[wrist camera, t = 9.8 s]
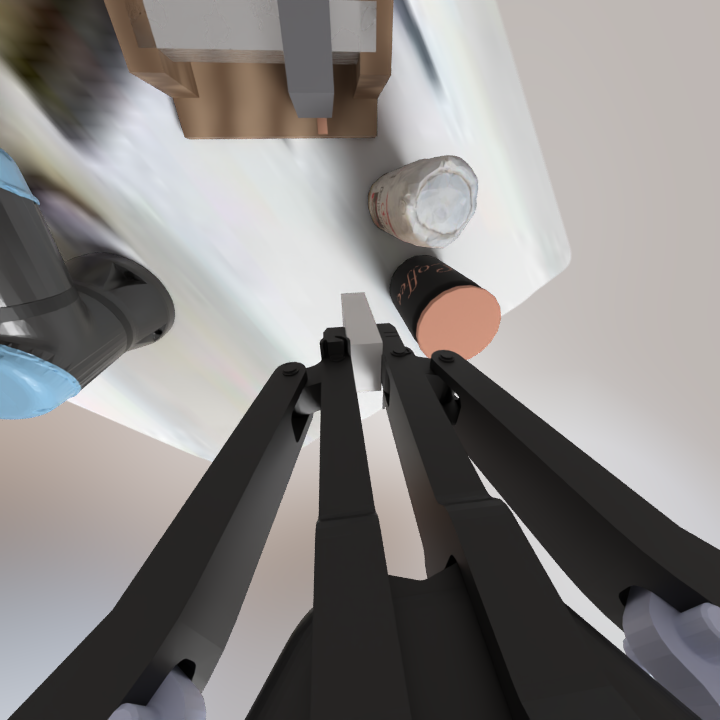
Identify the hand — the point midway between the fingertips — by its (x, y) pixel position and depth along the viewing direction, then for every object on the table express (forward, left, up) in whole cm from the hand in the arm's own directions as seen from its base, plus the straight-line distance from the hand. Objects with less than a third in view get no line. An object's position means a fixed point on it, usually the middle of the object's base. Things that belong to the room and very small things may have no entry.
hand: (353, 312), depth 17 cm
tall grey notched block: (-2, +19, -26) cm, 33 cm away
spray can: (+9, +5, -30) cm, 31 cm away
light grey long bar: (-6, +19, -23) cm, 31 cm away
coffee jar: (+14, -8, -30) cm, 34 cm away
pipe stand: (-6, +19, -29) cm, 36 cm away
